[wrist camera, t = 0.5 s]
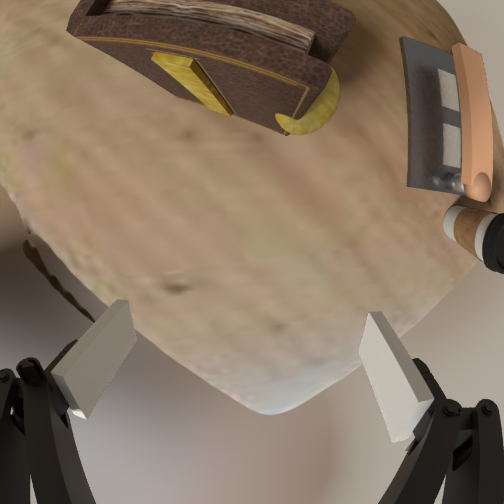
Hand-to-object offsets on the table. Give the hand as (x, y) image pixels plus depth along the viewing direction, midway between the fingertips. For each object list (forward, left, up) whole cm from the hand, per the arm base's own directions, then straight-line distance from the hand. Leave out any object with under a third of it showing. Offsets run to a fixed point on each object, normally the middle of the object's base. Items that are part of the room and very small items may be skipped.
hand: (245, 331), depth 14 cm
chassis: (-19, +30, -27) cm, 45 cm away
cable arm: (-19, +32, -20) cm, 42 cm away
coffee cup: (-1, +35, -28) cm, 44 cm away
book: (-18, -2, -28) cm, 33 cm away
